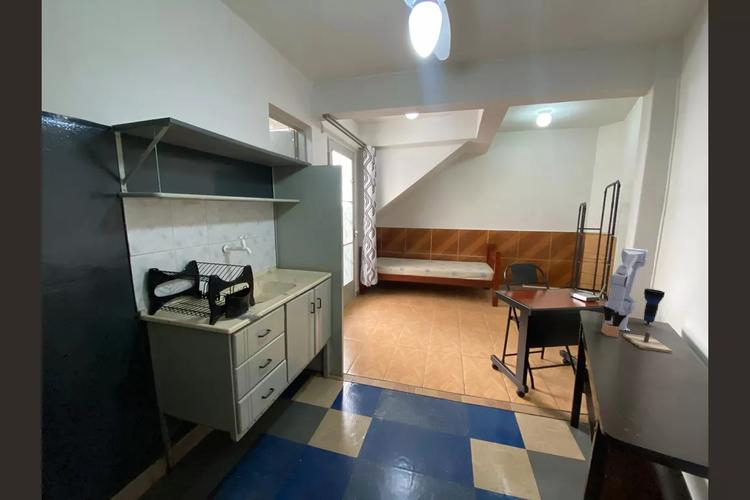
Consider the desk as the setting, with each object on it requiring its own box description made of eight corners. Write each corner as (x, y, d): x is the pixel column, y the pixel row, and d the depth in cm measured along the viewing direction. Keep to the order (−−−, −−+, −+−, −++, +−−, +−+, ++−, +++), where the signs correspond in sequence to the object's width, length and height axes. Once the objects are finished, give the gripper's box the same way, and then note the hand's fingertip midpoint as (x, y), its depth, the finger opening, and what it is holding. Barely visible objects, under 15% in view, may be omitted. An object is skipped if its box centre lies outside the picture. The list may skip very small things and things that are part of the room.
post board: (622, 335, 141) (624, 324, 141) (651, 339, 138) (653, 328, 137) (639, 348, 128) (642, 336, 127) (671, 353, 125) (674, 341, 124)
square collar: (601, 331, 145) (602, 322, 144) (612, 332, 144) (614, 323, 143) (606, 335, 140) (607, 326, 140) (618, 337, 139) (619, 327, 138)
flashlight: (651, 322, 160) (658, 289, 157) (661, 328, 152) (668, 293, 149) (634, 320, 162) (641, 287, 159) (643, 326, 154) (650, 291, 151)
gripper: (599, 292, 147) (595, 316, 149) (614, 301, 133) (609, 327, 135) (615, 294, 145) (610, 318, 147) (632, 303, 131) (627, 330, 133)
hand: (611, 323), depth 141 cm, fingers open, 7 cm apart
